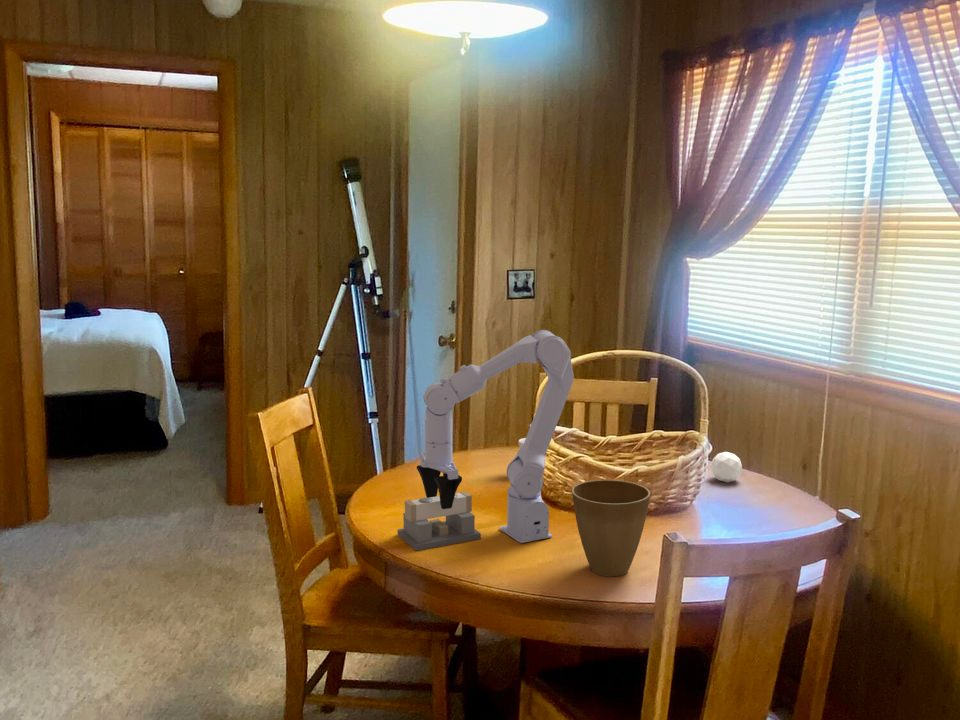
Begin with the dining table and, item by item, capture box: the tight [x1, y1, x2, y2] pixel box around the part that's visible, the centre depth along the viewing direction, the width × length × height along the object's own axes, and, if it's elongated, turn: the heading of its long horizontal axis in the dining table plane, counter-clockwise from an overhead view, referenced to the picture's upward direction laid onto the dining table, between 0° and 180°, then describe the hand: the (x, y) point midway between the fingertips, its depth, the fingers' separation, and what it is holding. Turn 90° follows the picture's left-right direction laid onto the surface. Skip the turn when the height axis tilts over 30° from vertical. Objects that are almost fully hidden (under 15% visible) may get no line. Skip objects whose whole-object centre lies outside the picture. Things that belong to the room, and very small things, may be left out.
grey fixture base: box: [396, 512, 482, 551], centre depth 182 cm, size 15×10×5 cm, turn 118°
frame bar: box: [404, 491, 473, 522], centre depth 182 cm, size 3×14×4 cm, turn 118°
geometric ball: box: [710, 451, 743, 483], centre depth 222 cm, size 8×8×8 cm
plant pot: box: [571, 479, 651, 577], centre depth 166 cm, size 15×15×16 cm
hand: (438, 502), depth 182 cm, fingers open, 7 cm apart
